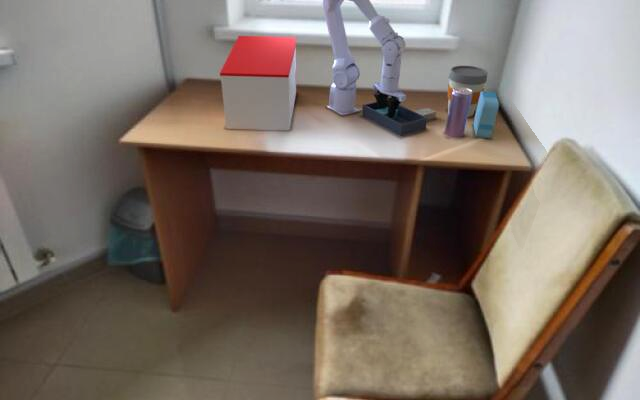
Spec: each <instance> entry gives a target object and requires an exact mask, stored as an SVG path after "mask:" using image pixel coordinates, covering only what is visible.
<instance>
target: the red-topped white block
mask: <svg viewBox="0 0 640 400" xmlns="http://www.w3.org/2000/svg"><path fill="white" fill-rule="evenodd" d="M296 39H297V37H296V36H263V35H261V36H260V35H257V36H256V35H238V36H237V38H236V40H235V43H234V45H233V46H232V48H231V50H230V52H229V54H228V56H227V58H226V60H225V62H224V64H223V66H222V67H221V70H220V72H219V77H220V83H221V93H222V102H223V103H222V104H223V111H224V113H223V114H224V121H225V129H227V130H257V131H258V130H259V131H260V130H261V131H263V130H264V131H290V129H291V124H292V119H293V113H294V108H295V101H296V97H297V61H296V60H297V49H296V48H297V40H296Z"/></svg>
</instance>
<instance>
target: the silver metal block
mask: <svg viewBox="0 0 640 400" xmlns="http://www.w3.org/2000/svg"><path fill="white" fill-rule="evenodd" d="M413 111H414V112H416V113H418V114H420V115H422V116H425V117H427V118H428V119H427V121H429V120H434V119H436V117H437V111H436V110H434V109H432V108H430V107H425V108H422V109H421V108H420V109H418V110H413Z"/></svg>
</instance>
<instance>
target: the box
mask: <svg viewBox="0 0 640 400" xmlns="http://www.w3.org/2000/svg"><path fill="white" fill-rule="evenodd" d="M386 107H388V104H387V103H386ZM375 110H378V105H377V101H373V102H368V103H364V104H362V111H361V116H362V117H364V118H366V119H367V120H370V121H371V122H373V123H374V124H376V125H378V126H380V127H382V128H384V129H386V130H387V131H389V132H391V133H393V134H395V135H396V136H399V137H404V136H407V135H410V134H413V133H417V132H420V131H423V130H426V129H427V126H428V125H427V124H428V120H427V119H428V118H427V117H425V116H422V115H420V114H418V113H416V112H414V111H415V110H411V109H410V108H407V107H406V106H404V105H401V104H399V106H398V108H397V110H398V117H397V118H395V119H391V118H389V117H387V116H385V115H383V114H381V113H379V112H377V111H375Z"/></svg>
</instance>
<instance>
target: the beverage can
mask: <svg viewBox="0 0 640 400" xmlns="http://www.w3.org/2000/svg"><path fill="white" fill-rule="evenodd" d="M471 98H472V90H471V89H468V88H464V87H457V88H454V89H453V92H452V96H451V101H450V106H449V111H448V110H447V117H446V123H445V128H444V134H445V136H447V137H449V138H454V139H459V138H463V136H464V135H465V130H466V127H467V126H466V125H467V120H468V118H469V117H468V112H469V107H470V103H471Z"/></svg>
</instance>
